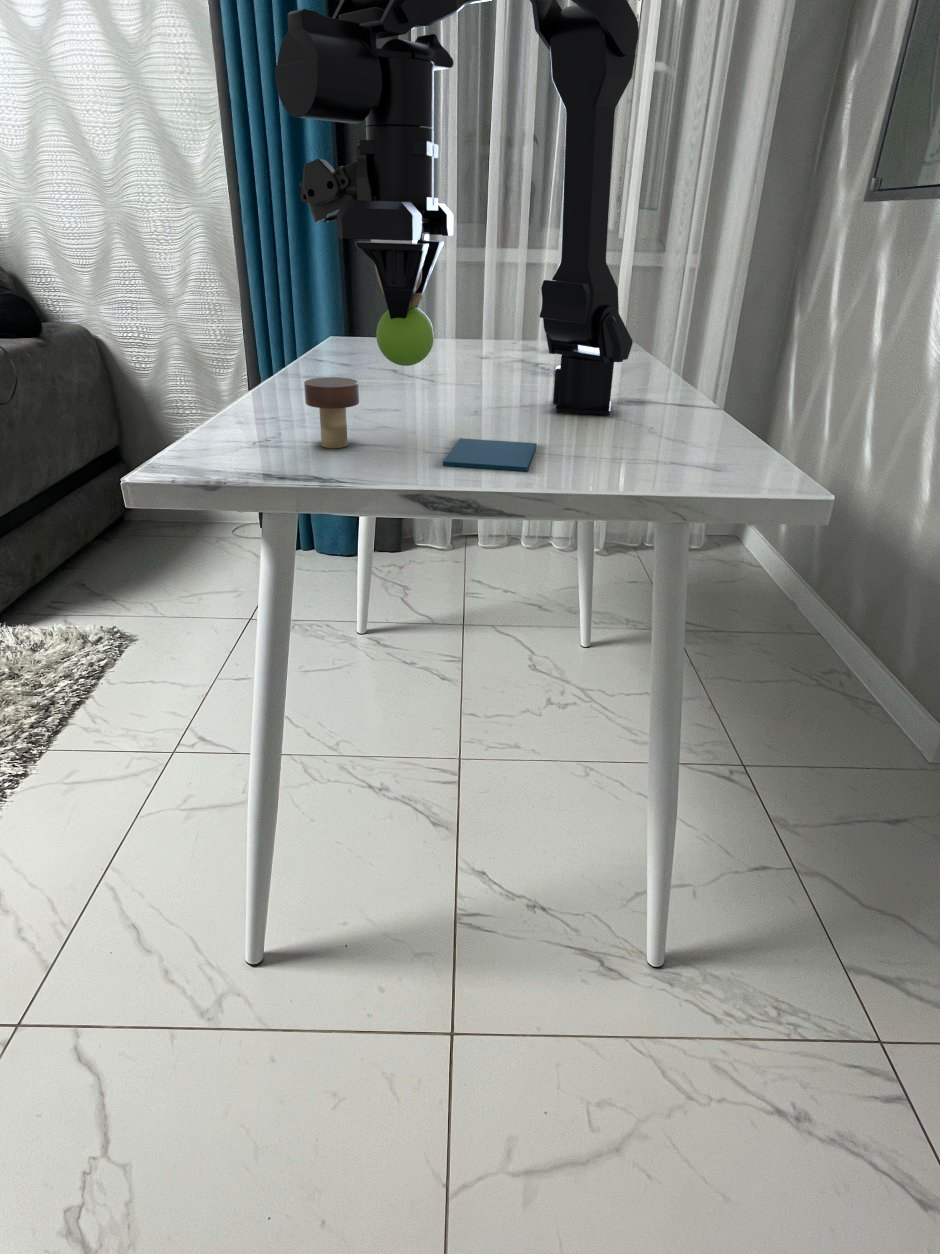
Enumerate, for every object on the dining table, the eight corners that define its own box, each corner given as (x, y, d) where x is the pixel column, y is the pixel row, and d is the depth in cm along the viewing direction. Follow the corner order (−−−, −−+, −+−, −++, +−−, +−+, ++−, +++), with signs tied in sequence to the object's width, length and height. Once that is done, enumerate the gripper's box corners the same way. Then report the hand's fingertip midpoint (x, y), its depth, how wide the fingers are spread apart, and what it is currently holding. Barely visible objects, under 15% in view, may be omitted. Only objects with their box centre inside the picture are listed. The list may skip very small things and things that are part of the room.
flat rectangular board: (536, 447, 83) (536, 443, 83) (527, 471, 75) (527, 467, 75) (459, 441, 84) (459, 438, 84) (442, 465, 76) (442, 461, 76)
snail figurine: (401, 357, 82) (393, 225, 76) (446, 364, 78) (442, 224, 72) (360, 365, 78) (348, 226, 73) (405, 372, 74) (397, 226, 69)
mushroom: (366, 440, 84) (364, 378, 81) (352, 453, 79) (349, 388, 76) (318, 437, 84) (314, 375, 81) (301, 450, 80) (296, 385, 77)
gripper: (341, 136, 78) (349, 309, 85) (267, 116, 62) (284, 332, 69) (455, 138, 77) (453, 314, 84) (410, 117, 60) (412, 338, 67)
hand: (402, 323), depth 76 cm, fingers closed on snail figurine, 3 cm apart
